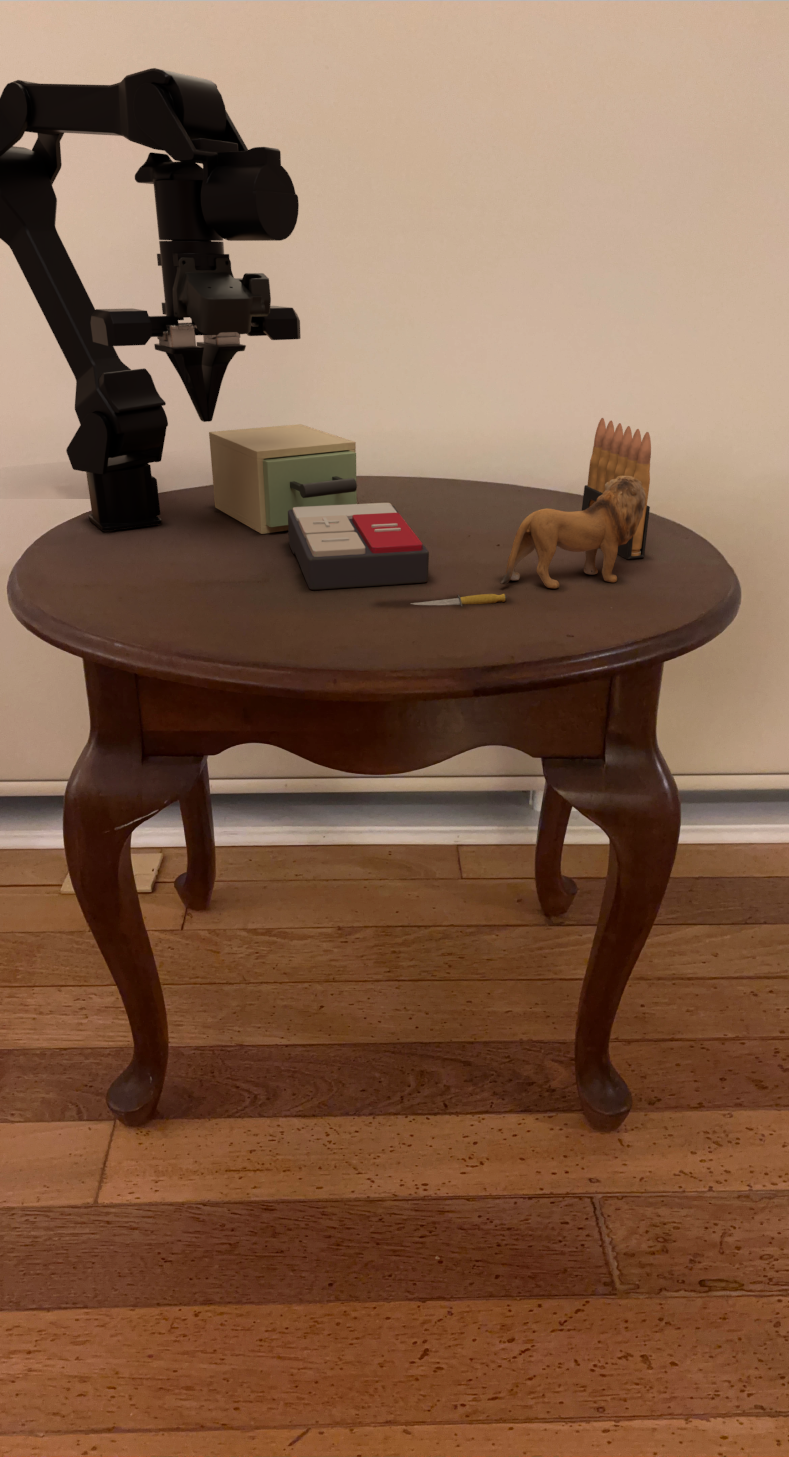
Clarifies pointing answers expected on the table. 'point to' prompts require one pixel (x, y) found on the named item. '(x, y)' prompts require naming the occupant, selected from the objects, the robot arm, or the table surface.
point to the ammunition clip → (620, 474)
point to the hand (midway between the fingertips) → (206, 420)
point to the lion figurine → (581, 531)
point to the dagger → (467, 600)
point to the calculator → (356, 546)
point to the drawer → (308, 483)
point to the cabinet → (259, 465)
